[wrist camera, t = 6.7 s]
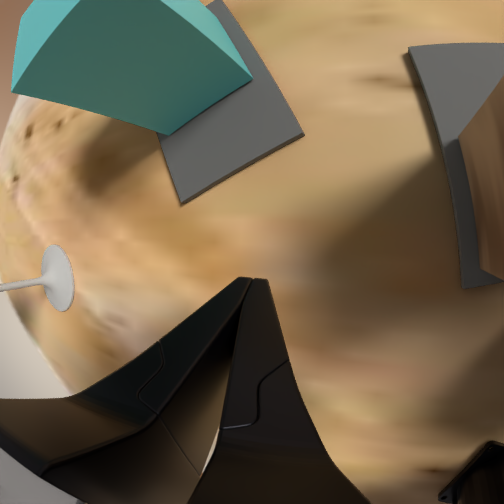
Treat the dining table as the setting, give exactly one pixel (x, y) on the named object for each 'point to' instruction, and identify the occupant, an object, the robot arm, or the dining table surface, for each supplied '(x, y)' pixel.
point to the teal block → (127, 59)
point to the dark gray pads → (288, 130)
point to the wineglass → (52, 279)
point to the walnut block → (487, 178)
